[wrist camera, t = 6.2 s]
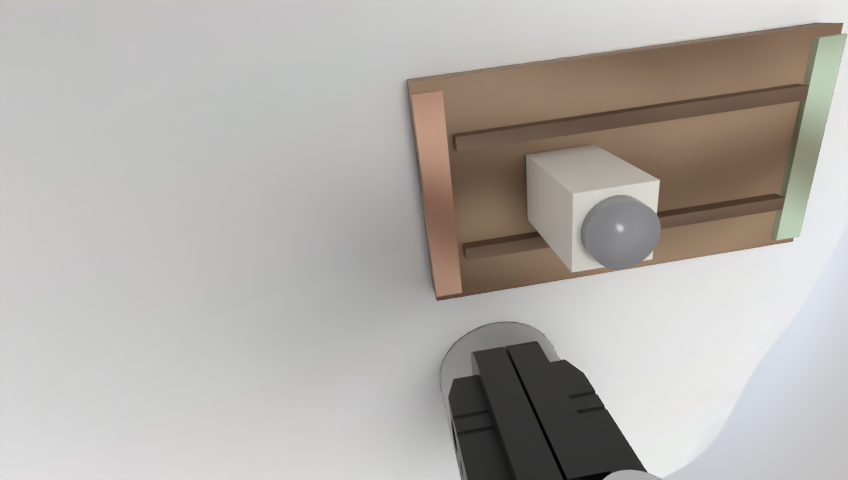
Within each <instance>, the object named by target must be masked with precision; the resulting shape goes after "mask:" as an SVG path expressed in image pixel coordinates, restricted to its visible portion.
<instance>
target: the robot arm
mask: <svg viewBox="0 0 848 480" xmlns="http://www.w3.org/2000/svg"><path fill="white" fill-rule="evenodd" d="M471 364H472V375H473V376H467V377H461V378H455V379H453V382H452V386H451V389H450V392H449V395H448V401H449V409H450V417H451V426H452V434H453V442H454V449H455V454H456V458H457V463H458V467H459V471H460V476H461V480H662V479H661V478H659V477H657V476H655V475H652V474H649V473H648V472H647V471H646V469H645V468H644V467H643V465H642V463H641V462H640V460H639V459H638V457H637V456H636V454H635V453H634V451H633V449H632V448H631V446H630V445H629V443H628V442H627V440H626V439H625V437H624V435H623V434H622V432H621V431H620V429H619V428H618V426H617V424H616V423H615V421H614V420H613V418H612V417H611V415H610V414H609V412H608V410H607V409H605V407H604V404H603V403H602V401H601V399H600V398H599V396H598V395H597V394H595V390H594V389H593V387H592V385H591V384H590V382H589V381H588V379H587V378H586V376H585V375H584V373H583V372H581V371H580V370H579V369H577V368H576V367H574V366H573V365H572V364H570V363H569V362H568V361H566V360H559V361H553V362H549V360H548V358H547V356H546V355H545V353H544V351H543V349H542V348H541V346H540V344H539V343H538V342H537V341H532V342H526V343H520V344H514V345H508V346H505V347H497V348H491V349H486V350H480V351H474V352H471Z"/></svg>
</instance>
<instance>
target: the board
mask: <svg viewBox="0 0 848 480" xmlns="http://www.w3.org/2000/svg"><path fill="white" fill-rule="evenodd" d="M842 26H843V23H813V24H806V25H799V26H791V27H784V28H777V29H770V30H762V31H755V32H748V33H741V34H733V35H726V36H719V37H712V38H705V39H697V40H690V41H683V42H676V43H668V44H661V45H654V46H647V47H639V48H632V49H625V50H618V51H611V52H603V53H596V54H589V55H582V56H574V57H567V58H560V59H553V60H545V61H538V62H531V63H524V64H517V65H509V66H502V67H495V68H488V69H480V70H473V71H466V72H459V73H451V74H444V75H437V76H430V77H423V78H415V79H408V80H407V83H408V91H409V99H410V107H411V115H412V123H413V131H414V139H415V147H416V155H417V163H418V171H419V179H420V186H421V194H422V202H423V210H424V218H425V226H426V234H427V242H428V250H429V258H430V266H431V274H432V282H433V289H434V292H435V296H436V300H437V301H439V300H445V299H451V298H457V297H463V296H469V295H475V294H481V293H487V292H493V291H499V290H504V289H510V288H516V287H522V286H528V285H534V284H540V283H546V282H552V281H558V280H564V279H570V278H576V277H582V276H588V275H594V274H600V273H606V272H612V271H618V269H610V268H606V267H602V268H596V269H590V270H584V271H578V272H571V271H570V270H569V269H568V268H567V266H566V265H565V264H564V263H563V262H562V260H561V259H560V258H559V257H558V255H557V254H556V253H555V252H554V251H553V249H552V248H551V247H550V246H549V245H548V243H547V242H546V241H545V240H544V239H543V237H542V236H541V235H540V234H539V233H538V231H537V230H536V229H535V228H534V227H533V225H532V224H531V223H530V222H529V221H528V211H527V174H526V155H527V154H534V153H541V152H547V151H554V150H561V149H567V148H574V147H581V146H587V145H594V144H595V145H596V146H598V147H600V148H602V149H604V150H606V151H607V152H609V153H611V154H613V155H615V156H617V157H618V158H620V159H622V160H624V161H626V162H628V163H630V164H631V165H633V166H635V167H637V168H639V169H641V170H642V171H644V172H646V173H648V174H650V175H652V176H653V177H655V178H657V179H659V180H660V185H659V195H658V206H657V216H658V218H659V220H660V225H661V232H660V237H659V241H658V243H657V245H656V247H655V248H654V250H653V258H652V259H651V260H645V261H642V262H640V263H639V264H637V265H635V266H633V267H630V268H636V267H642V266H648V265H654V264H660V263H666V262H672V261H678V260H684V259H690V258H696V257H702V256H708V255H714V254H720V253H726V252H732V251H738V250H744V249H750V248H756V247H762V246H768V245H774V244H780V243H786V242H792V241H793V238H794V237H799V236H800V232H801V228H802V223H803V219H804V215H805V211H806V207H807V202H808V198H809V194H810V190H811V185H812V181H813V177H814V173H815V168H816V164H817V160H818V156H819V152H820V147H821V143H822V139H823V135H824V130H825V126H826V122H827V118H828V114H829V109H830V105H831V101H832V97H833V92H834V88H835V84H836V80H837V75H838V71H839V67H840V63H841V59H842V54H843V50H844V46H845V42H846V37H847V34H841V31H842ZM630 268H626V269H630ZM619 270H624V269H619Z"/></svg>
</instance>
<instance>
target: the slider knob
mask: <svg viewBox="0 0 848 480" xmlns="http://www.w3.org/2000/svg"><path fill="white" fill-rule="evenodd" d="M526 174H527V211H528V221H529V222H530V223H531V224H532V225H533V227H534V228H535V229H536V230H537V231H538V233H539V234H540V235H541V236H542V237H543V239H544V240H545V241H546V242H547V243H548V245H549V246H550V247H551V248H552V249H553V251H554V252H555V253H556V254H557V255H558V257H559V258H560V259H561V260H562V262H563V263H564V264H565V265H566V266H567V268H568V269H569V270H570V271H571V272H578V271H584V270H590V269H596V268H602V267H606V268H610V269H618V270H619V269H626V268H630V267H633V266H635V265H637V264H639V263H640V262H642V261H645V260H651V259H652V258H653V250H654V248H655V247H656V245H657V243H658V241H659V237H660V232H661V225H660V220H659V218H658V216H657V206H658V195H659V185H660V180H659V179H657V178H655V177H653V176H652V175H650V174H648V173H646V172H644V171H642V170H641V169H639V168H637V167H635V166H633V165H631V164H630V163H628V162H626V161H624V160H622V159H620V158H618V157H617V156H615V155H613V154H611V153H609V152H607V151H606V150H604V149H602V148H600V147H598V146H596V145H595V144H594V145H587V146H581V147H574V148H567V149H561V150H554V151H547V152H541V153H534V154H527V155H526Z"/></svg>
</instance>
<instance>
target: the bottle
mask: <svg viewBox="0 0 848 480" xmlns="http://www.w3.org/2000/svg"><path fill="white" fill-rule="evenodd" d="M532 341H537V342H538V343H539V344H540V346H541V348H542V349H543V351H544V353H545V355H546V356H547V358H548V360H549V362H553V361H559V360H560V358H559V357H558V355H557V353H556V352H555V350H554V347H553V346H552V344H551V343H550V342H549V340H548V339H547V338H546V337H545V336H544V334H542V333H541V332H540V331H538V330H536V329H534V328H533V327H530V326H528V325H525V324H520V323H514V322H500V323H494V324H489V325H485V326H483V327H480V328H477V329H476V330H474V331H472V332H469V333H468V334H466V335H465V336H463V337H462V338H461V339H460V340H459V341H458V342H456V343H455V344H454V345H453V347H452V348H451V349H450V350H449V352H448V353H447V355H446V357H445V358H444V361H443V363H442V366H441V370H440V386H441V389H442V392H443V397H444V402H445V407H446V412H447V417H448V422H449V427H450V431H451V436H452V440H453V434H452V426H451V417H450V409H449V401H448V395H449V392H450V389H451V386H452V382H453V379H455V378H461V377H467V376H473V375H472V364H471V352H474V351H480V350H486V349H491V348H497V347H505V346H508V345H514V344H520V343H526V342H532ZM453 444H454V442H453Z"/></svg>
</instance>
